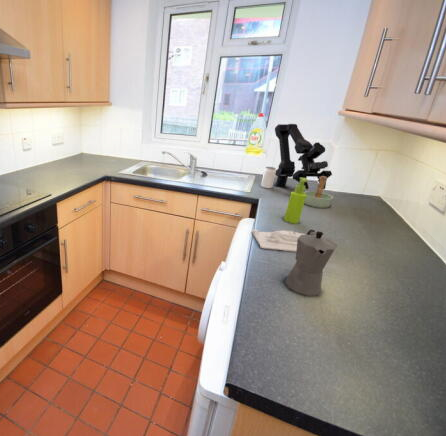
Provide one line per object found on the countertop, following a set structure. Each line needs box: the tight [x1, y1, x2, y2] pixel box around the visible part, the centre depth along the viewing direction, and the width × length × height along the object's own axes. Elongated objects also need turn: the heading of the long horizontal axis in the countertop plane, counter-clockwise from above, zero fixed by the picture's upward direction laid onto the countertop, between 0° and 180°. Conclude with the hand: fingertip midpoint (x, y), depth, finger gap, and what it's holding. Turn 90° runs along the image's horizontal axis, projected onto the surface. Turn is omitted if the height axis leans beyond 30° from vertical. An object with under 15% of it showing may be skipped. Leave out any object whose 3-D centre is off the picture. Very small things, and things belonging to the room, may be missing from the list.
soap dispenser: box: [283, 177, 308, 224], centre depth 130 cm, size 6×7×20 cm
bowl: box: [304, 190, 334, 209], centre depth 156 cm, size 13×13×5 cm
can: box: [260, 166, 277, 189], centre depth 180 cm, size 6×6×12 cm
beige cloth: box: [251, 229, 306, 253], centre depth 113 cm, size 17×23×5 cm
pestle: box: [312, 176, 328, 199], centre depth 153 cm, size 5×5×14 cm
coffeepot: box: [284, 229, 338, 297], centre depth 85 cm, size 15×9×18 cm, turn 159°
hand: (316, 189), depth 156 cm, fingers open, 9 cm apart
